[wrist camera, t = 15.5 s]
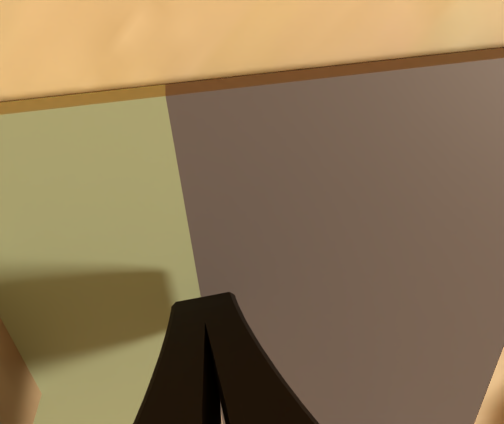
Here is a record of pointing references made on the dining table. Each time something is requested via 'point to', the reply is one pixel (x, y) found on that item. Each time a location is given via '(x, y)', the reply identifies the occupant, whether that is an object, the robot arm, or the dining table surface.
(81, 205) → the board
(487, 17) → the dining table surface
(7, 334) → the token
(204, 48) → the dining table surface
